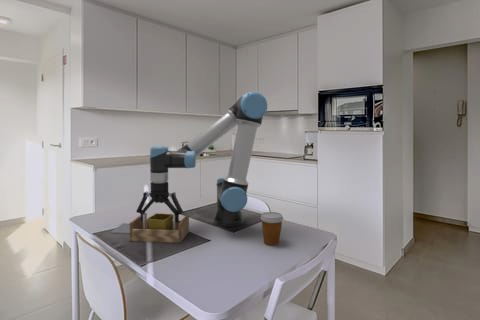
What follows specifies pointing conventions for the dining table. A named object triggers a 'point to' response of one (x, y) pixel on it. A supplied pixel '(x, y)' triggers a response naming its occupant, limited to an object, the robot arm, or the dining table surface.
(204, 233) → the dining table surface
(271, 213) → the disposable coffee cup
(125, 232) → the mat
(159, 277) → the dining table surface
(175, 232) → the crate
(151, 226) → the flower pot
